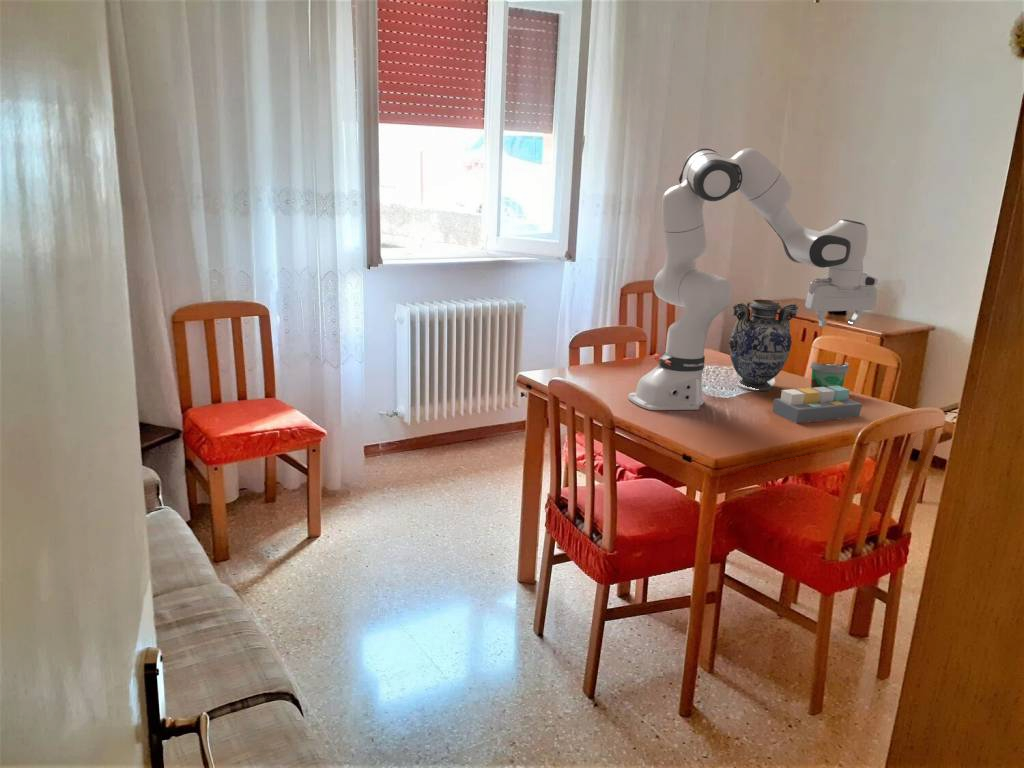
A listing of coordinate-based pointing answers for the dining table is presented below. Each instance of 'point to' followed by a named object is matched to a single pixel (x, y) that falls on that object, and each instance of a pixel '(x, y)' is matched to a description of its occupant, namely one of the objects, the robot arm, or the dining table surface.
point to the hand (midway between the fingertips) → (837, 325)
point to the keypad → (817, 410)
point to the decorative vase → (761, 341)
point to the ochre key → (810, 395)
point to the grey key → (825, 394)
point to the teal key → (840, 393)
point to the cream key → (792, 397)
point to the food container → (828, 374)
